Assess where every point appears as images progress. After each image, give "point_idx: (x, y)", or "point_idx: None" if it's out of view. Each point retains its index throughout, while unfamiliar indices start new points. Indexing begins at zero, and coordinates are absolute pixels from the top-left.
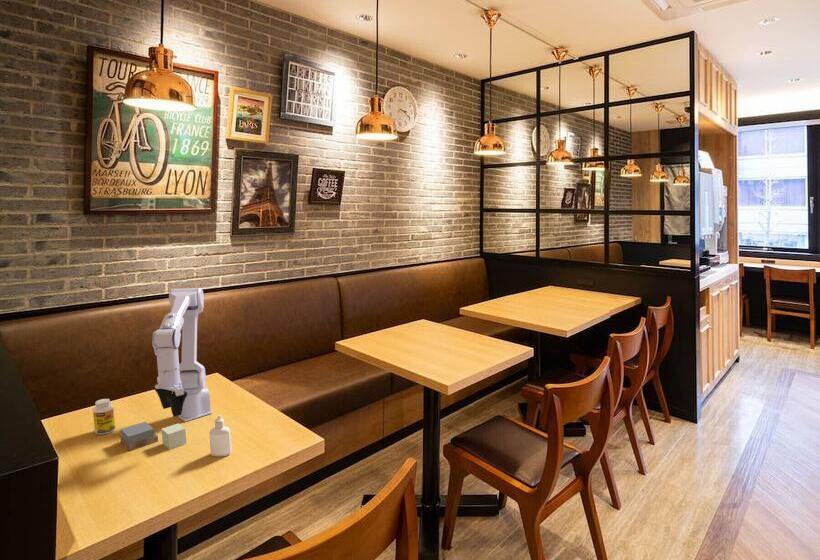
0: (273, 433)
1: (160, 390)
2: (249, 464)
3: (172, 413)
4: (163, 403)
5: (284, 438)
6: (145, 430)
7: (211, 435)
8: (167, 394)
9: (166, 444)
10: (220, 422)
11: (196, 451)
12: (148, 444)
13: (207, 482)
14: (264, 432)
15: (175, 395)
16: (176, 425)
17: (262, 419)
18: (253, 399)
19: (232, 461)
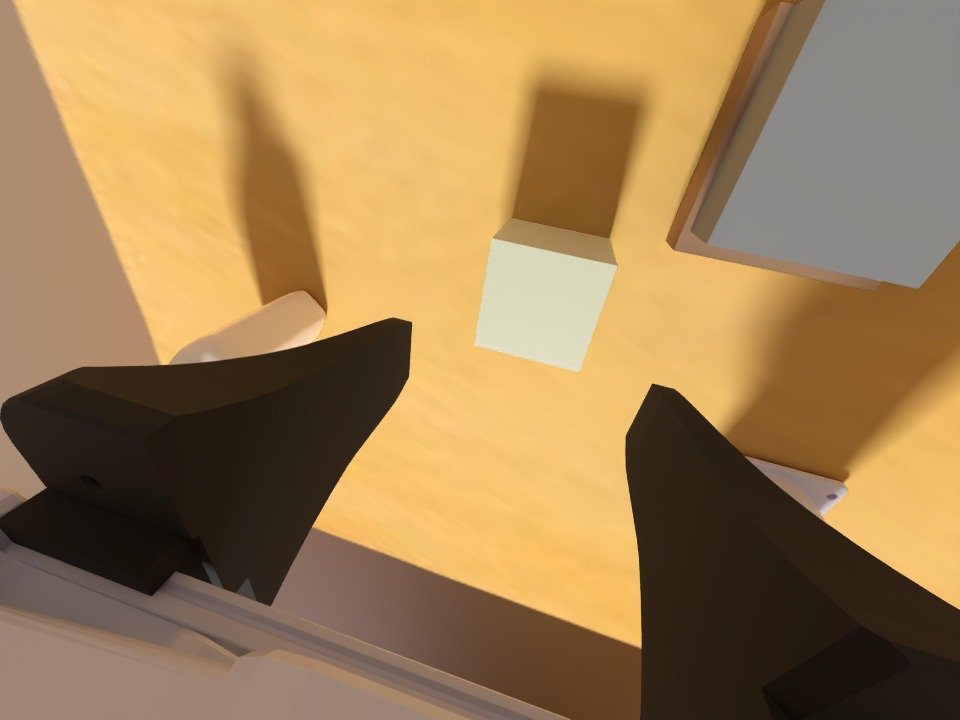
0: None
1: (766, 621)
2: (173, 318)
3: (390, 326)
4: (666, 425)
5: None
6: (756, 184)
7: (214, 332)
8: (667, 560)
9: (548, 229)
10: None
11: (386, 282)
12: (693, 177)
13: (110, 137)
14: (344, 479)
15: (57, 493)
16: (563, 348)
17: (430, 536)
18: (590, 627)
19: (220, 302)
